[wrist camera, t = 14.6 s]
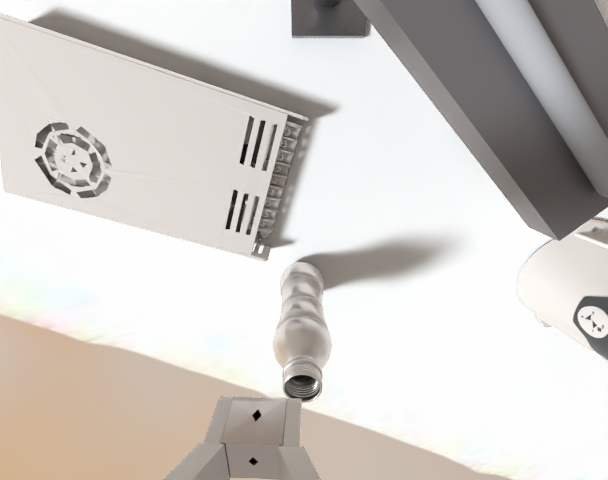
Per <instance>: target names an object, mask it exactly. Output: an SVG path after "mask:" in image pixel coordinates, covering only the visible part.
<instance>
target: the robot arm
mask: <svg viewBox="0 0 608 480" xmlns="http://www.w3.org/2000/svg"><path fill="white" fill-rule="evenodd" d="M517 294H518V297H519V299H520V301H521V302H522V304H523V305H524V306H525V307H527V308H528V309H530V310H531V311H532V312H533V313H534V314H535V317H536V319H537V321H538V322H539V323H540V324H542V325H543V326H545V327H552V326H553V327H554V328H555V329H557V330H558V331H560V332H561V333H563V334H564V335H566V336H567V337H569V338H570V339H572V340H573V341H575V342H576V343H577V344H579V345H580V346H582V347H583V348H585V349H587V350H590V351H593V350H594V351H596V352H597V353H598V354H600V355H601V356H602V358H604V359H605V360H606V361H607V362H608V222H605V221H600V220H595V219H590V220H589V221H587V222H586V223H584V224H583V225H581V226H580V227H579V228H577V229H576V230H574V231H573V232H572V233H570V234H569V235H567V236H566V237H564V238H563V239H562V240H560V241H558V240H556V239H554V240H552V241H550V242H548V243H547V244H545V245H544V246H542V247H541V248H539V249H538V250H537V251H536V252H535V253H534V254H533V255H532V256H531V257H530V258H529V259H528V260H527V262H526V263H525V264H524V266H523V267H522V269H521V271H520V274H519V276H518V280H517ZM301 405H302V400H301V399H299V398H267V397H262V398H252V397H235V396H221V397H220V398H219V400H218V402H217V405H216V408H215V411H214V414H213V417H212V420H211V422H210V425H209V428H208V431H207V434H206V437H205V440H204V443H199V444H198V445H197V446H196V447H195V448H194V449H193V450H192V451H191V452H190V453H189V454H188V455H187V456H186V457H185V458H184V459H183V460H182V461H181V462H180V463H179V464H178V465H177V466H176V467H175V468H174V469H173V470H172V471H171V472H170V473H169V474H168V475H167V476H166V478H164V479H163V480H230V478H263V479H277V480H321V479H320V477H319V475H318V473H317V471H316V469H315V467H314V465H313V463H312V462H311V460H310V458H309V456H308V454H307V452H306V450H305V448H304V447H302V446H301Z"/></svg>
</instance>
